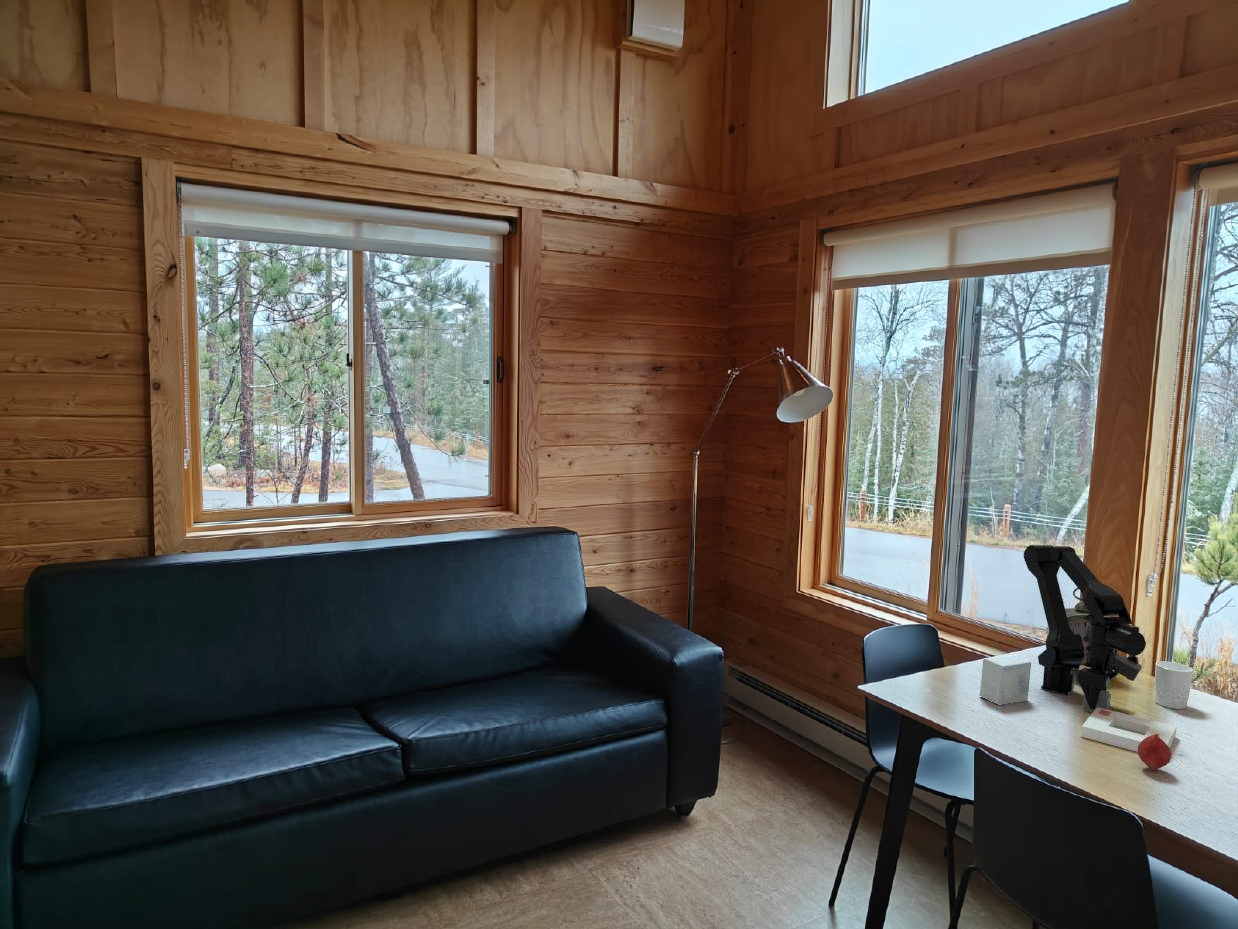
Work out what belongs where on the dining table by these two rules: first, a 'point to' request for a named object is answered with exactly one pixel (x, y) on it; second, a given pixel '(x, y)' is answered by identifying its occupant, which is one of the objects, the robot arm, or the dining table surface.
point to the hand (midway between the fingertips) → (1096, 704)
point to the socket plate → (1124, 729)
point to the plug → (1099, 701)
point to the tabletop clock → (1079, 623)
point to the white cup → (1172, 684)
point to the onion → (1154, 752)
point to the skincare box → (1005, 679)
